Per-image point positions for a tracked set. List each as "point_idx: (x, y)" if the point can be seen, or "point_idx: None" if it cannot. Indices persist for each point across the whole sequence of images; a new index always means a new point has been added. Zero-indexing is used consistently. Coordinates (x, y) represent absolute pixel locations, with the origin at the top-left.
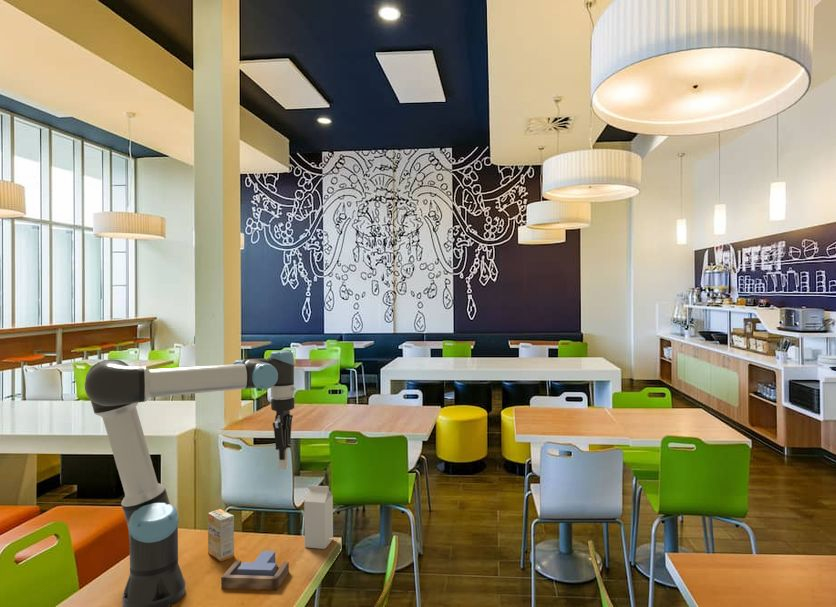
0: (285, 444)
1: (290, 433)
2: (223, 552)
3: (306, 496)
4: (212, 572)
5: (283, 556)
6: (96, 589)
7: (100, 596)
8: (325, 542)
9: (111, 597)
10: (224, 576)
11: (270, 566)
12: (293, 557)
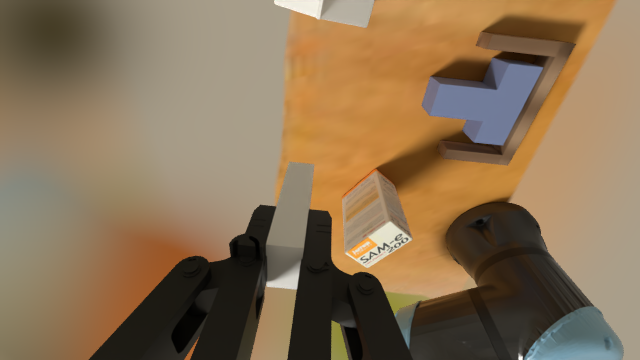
0: (312, 293)
1: (114, 355)
2: (393, 188)
3: (351, 20)
4: (431, 184)
5: (394, 65)
6: (438, 291)
7: (458, 283)
8: None
9: (465, 273)
10: (506, 160)
11: (522, 75)
12: (405, 37)
